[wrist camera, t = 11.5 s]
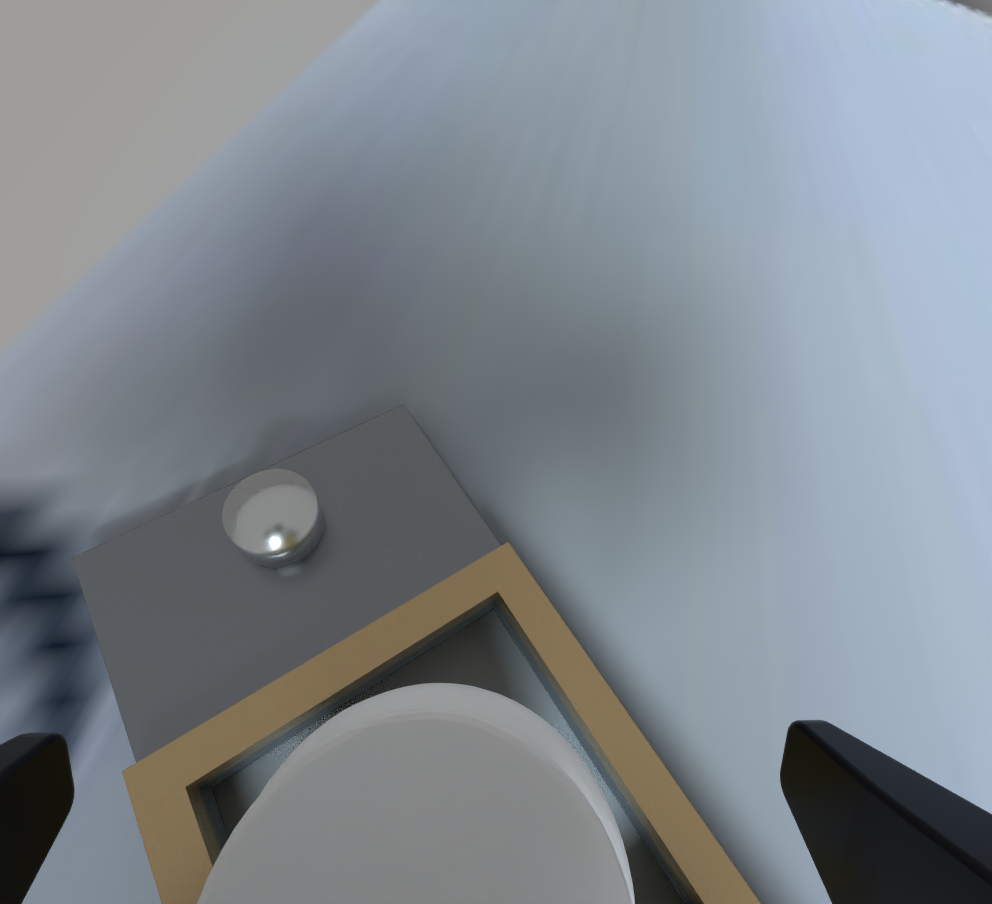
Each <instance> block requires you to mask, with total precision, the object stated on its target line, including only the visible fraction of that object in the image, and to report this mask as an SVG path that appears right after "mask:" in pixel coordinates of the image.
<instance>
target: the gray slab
mask: <svg viewBox="0 0 992 904" xmlns="http://www.w3.org/2000/svg"><path fill="white" fill-rule="evenodd" d="M72 559H73V563H74V566H75V569H76V572H77V575H78V579H79V582H80V585H81V588H82V591H83V595H84V598H85V601H86V604H87V607H88V611H89V614H90V617H91V620H92V623H93V627H94V630H95V633H96V636H97V639H98V642H99V646H100V649H101V652H102V655H103V658H104V662H105V665H106V668H107V671H108V674H109V678H110V681H111V684H112V687H113V690H114V694H115V697H116V700H117V703H118V706H119V710H120V713H121V716H122V719H123V722H124V726H125V729H126V732H127V735H128V738H129V742H130V745H131V748H132V751H133V754H134V757H135V761H136V764H134V765H132V766H130V767H129V768H127V769H125V770H124V771H122V773H123V776H124V779H125V783H126V786H127V789H128V792H129V796H130V799H131V802H132V806H133V809H134V812H135V816H136V819H137V822H138V826H139V829H140V832H141V836H142V839H143V842H144V846H145V849H146V852H147V856H148V859H149V862H150V866H151V869H152V872H153V876H154V879H155V882H156V886H157V889H158V892H159V895H160V899H161V902H162V904H197V902H198V900H199V897H200V895H201V892H202V890H203V887H204V885H205V883H206V880H207V878H208V876H209V874H210V872H211V870H212V868H213V866H214V864H215V862H216V860H217V858H218V856H219V854H220V852H221V850H222V849H223V847H224V845H225V843H226V842H227V840H228V838H229V835H228V832H227V830H226V827H225V824H224V821H223V819H222V816H221V813H220V810H219V807H218V805H217V802H216V799H215V796H214V794H213V791H212V788H213V787H214V786H216V785H217V784H219V783H221V782H222V781H224V780H225V779H227V778H228V777H230V776H232V775H233V774H235V773H236V772H238V771H239V770H241V769H243V768H244V767H246V766H247V765H249V764H250V763H252V762H254V761H255V760H257V759H258V758H260V757H261V756H263V755H265V754H266V753H268V752H269V751H271V750H272V749H274V748H276V747H277V746H279V745H280V744H282V743H283V742H285V741H287V740H288V739H290V738H291V737H293V736H294V735H296V734H298V733H299V732H301V731H302V730H304V729H305V728H307V727H309V726H310V725H312V724H313V723H315V722H316V721H318V720H320V719H321V718H323V717H324V716H326V715H327V714H329V713H331V712H332V711H334V710H335V709H337V708H338V707H340V706H342V705H343V704H345V703H346V702H348V701H349V700H351V699H353V698H354V697H356V696H357V695H359V694H360V693H362V692H364V691H365V690H367V689H368V688H370V687H371V686H373V685H375V684H376V683H378V682H379V681H381V680H382V679H384V678H386V677H387V676H389V675H390V674H392V673H393V672H395V671H397V670H398V669H400V668H401V667H403V666H404V665H406V664H408V663H409V662H411V661H412V660H414V659H415V658H417V657H419V656H420V655H422V654H423V653H425V652H426V651H428V650H430V649H431V648H433V647H434V646H436V645H437V644H439V643H441V642H442V641H444V640H445V639H447V638H448V637H450V636H452V635H453V634H455V633H456V632H458V631H459V630H461V629H463V628H464V627H466V626H467V625H469V624H470V623H472V622H474V621H475V620H477V619H478V618H480V617H481V616H483V615H485V614H486V613H488V612H489V611H491V610H492V609H494V610H495V612H496V613H497V615H498V616H499V618H500V619H501V621H502V622H503V624H504V626H505V627H506V629H507V630H508V632H509V633H510V635H511V636H512V638H513V639H514V641H515V643H516V644H517V646H518V647H519V649H520V650H521V652H522V653H523V655H524V656H525V658H526V660H527V661H528V663H529V664H530V666H531V667H532V669H533V670H534V672H535V673H536V675H537V677H538V678H539V680H540V681H541V683H542V684H543V686H544V687H545V689H546V690H547V692H548V694H549V695H550V697H551V698H552V700H553V701H554V703H555V704H556V706H557V707H558V709H559V711H560V712H561V714H562V715H563V717H564V718H565V720H566V721H567V723H568V724H569V726H570V727H571V729H572V731H573V732H574V734H575V735H576V737H577V738H578V740H579V741H580V743H581V744H582V746H583V748H584V749H585V751H586V752H587V754H588V755H589V757H590V758H591V760H592V761H593V763H594V765H595V766H596V768H597V769H598V771H599V772H600V774H601V775H602V777H603V778H604V780H605V782H606V783H607V785H608V786H609V788H610V789H611V791H612V792H613V794H614V795H615V797H616V799H617V800H618V802H619V803H620V805H621V806H622V808H623V809H624V811H625V812H626V814H627V816H628V817H629V819H630V820H631V822H632V823H633V825H634V826H635V828H636V829H637V831H638V833H639V834H640V836H641V837H642V839H643V840H644V842H645V843H646V845H647V846H648V848H649V850H650V851H651V853H652V854H653V856H654V857H655V859H656V860H657V862H658V863H659V865H660V867H661V868H662V870H663V871H664V873H665V874H666V876H667V877H668V879H669V880H670V882H671V884H672V885H673V887H674V888H675V890H676V891H677V893H678V894H679V896H680V897H681V899H682V900H683V902H684V904H761V903H760V902H759V900H758V899H757V897H756V896H755V895H754V893H753V892H752V890H751V889H750V887H749V886H748V885H747V883H746V882H745V880H744V879H743V877H742V876H741V874H740V873H739V872H738V870H737V869H736V867H735V866H734V864H733V863H732V862H731V860H730V859H729V857H728V856H727V854H726V853H725V852H724V850H723V849H722V847H721V846H720V844H719V843H718V842H717V840H716V839H715V837H714V836H713V834H712V833H711V832H710V830H709V829H708V827H707V826H706V824H705V823H704V821H703V820H702V819H701V817H700V816H699V814H698V813H697V811H696V810H695V809H694V807H693V806H692V804H691V803H690V801H689V800H688V799H687V797H686V796H685V794H684V793H683V791H682V790H681V789H680V787H679V786H678V784H677V783H676V781H675V780H674V778H673V777H672V776H671V774H670V773H669V771H668V770H667V768H666V767H665V766H664V764H663V763H662V761H661V760H660V758H659V757H658V756H657V754H656V753H655V751H654V750H653V748H652V747H651V746H650V744H649V743H648V741H647V740H646V738H645V737H644V736H643V734H642V733H641V731H640V730H639V728H638V727H637V725H636V724H635V723H634V721H633V720H632V718H631V717H630V715H629V714H628V713H627V711H626V710H625V708H624V707H623V705H622V704H621V703H620V701H619V700H618V698H617V697H616V695H615V694H614V693H613V691H612V690H611V688H610V687H609V685H608V684H607V683H606V681H605V680H604V678H603V677H602V675H601V674H600V672H599V671H598V670H597V668H596V667H595V665H594V664H593V662H592V661H591V660H590V658H589V657H588V655H587V654H586V652H585V651H584V650H583V648H582V647H581V645H580V644H579V642H578V641H577V640H576V638H575V637H574V635H573V634H572V632H571V631H570V629H569V628H568V627H567V625H566V624H565V622H564V621H563V619H562V618H561V617H560V615H559V614H558V612H557V611H556V609H555V608H554V607H553V605H552V604H551V602H550V601H549V599H548V598H547V597H546V595H545V594H544V592H543V591H542V589H541V588H540V587H539V585H538V584H537V582H536V581H535V579H534V578H533V576H532V575H531V574H530V572H529V571H528V569H527V568H526V566H525V565H524V564H523V562H522V561H521V559H520V558H519V556H518V555H517V554H516V552H515V551H514V549H513V548H512V546H511V545H510V544H509V542H507V543H505V544H504V545H502V546H501V545H500V543H499V542H498V541H497V539H496V538H495V536H494V535H493V533H492V532H491V530H490V529H489V528H488V526H487V525H486V523H485V522H484V520H483V519H482V517H481V516H480V514H479V513H478V512H477V510H476V509H475V507H474V506H473V504H472V503H471V501H470V500H469V499H468V497H467V496H466V494H465V493H464V491H463V490H462V488H461V487H460V485H459V484H458V483H457V481H456V480H455V478H454V477H453V475H452V474H451V472H450V471H449V470H448V468H447V467H446V465H445V464H444V462H443V461H442V459H441V458H440V456H439V455H438V454H437V452H436V451H435V449H434V448H433V446H432V445H431V443H430V442H429V440H428V439H427V438H426V436H425V435H424V433H423V432H422V430H421V429H420V427H419V426H418V425H417V423H416V422H415V420H414V419H413V417H412V416H411V414H410V413H409V411H408V410H407V409H406V407H405V406H404V404H403V405H401V406H399V407H397V408H395V409H393V410H390V411H388V412H386V413H384V414H382V415H380V416H378V417H375V418H373V419H371V420H369V421H367V422H365V423H362V424H360V425H358V426H356V427H354V428H352V429H349V430H347V431H345V432H343V433H341V434H339V435H337V436H334V437H332V438H330V439H328V440H326V441H324V442H321V443H319V444H317V445H315V446H313V447H311V448H308V449H306V450H304V451H302V452H300V453H298V454H296V455H293V456H291V457H289V458H287V459H285V460H283V461H280V462H278V463H276V464H274V465H272V466H270V467H267V468H265V469H263V470H261V471H259V472H257V473H255V474H252V475H250V476H248V477H246V478H244V479H242V480H239V481H237V482H235V483H233V484H231V485H229V486H226V487H224V488H222V489H220V490H218V491H216V492H214V493H211V494H209V495H207V496H205V497H203V498H201V499H198V500H196V501H194V502H192V503H190V504H188V505H185V506H183V507H181V508H179V509H177V510H175V511H173V512H170V513H168V514H166V515H164V516H162V517H160V518H157V519H155V520H153V521H151V522H149V523H147V524H144V525H142V526H140V527H138V528H136V529H134V530H132V531H129V532H127V533H125V534H123V535H121V536H119V537H116V538H114V539H112V540H110V541H108V542H106V543H103V544H101V545H99V546H97V547H95V548H93V549H91V550H88V551H86V552H84V553H82V554H80V555H78V556H75V557H73V558H72Z"/></svg>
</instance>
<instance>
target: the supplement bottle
mask: <svg viewBox="0 0 992 904" xmlns="http://www.w3.org/2000/svg"><path fill="white" fill-rule="evenodd" d="M197 904H635V899H634V890H633V882H632V878H631V873H630V868H629V863H628V858H627V855H626V851H625V847H624V843H623V840H622V837H621V835H620V832H619V829H618V826H617V823H616V820H615V818H614V815H613V813H612V811H611V809H610V806H609V804H608V802H607V800H606V798H605V796H604V793H603V791H602V789H601V787H600V786H599V784H598V782H597V781H596V779H595V777H594V776H593V774H592V773H591V771H590V769H589V768H588V766H587V765H586V764H585V763H584V761H583V760H582V759H581V757H580V756H579V755H578V753H577V752H576V751H575V750H574V748H573V747H572V746H571V745H570V744H569V743H568V742H567V741H566V740H565V739H564V738H563V736H562V735H561V734H560V733H559V732H558V731H557V730H555V729H554V728H553V727H552V726H551V725H549V724H548V723H547V722H546V721H545V720H544V719H542V718H541V717H540V716H538V715H537V714H535V713H534V712H533V711H531V710H530V709H528V708H526V707H525V706H523V705H521V704H519V703H517V702H516V701H514V700H512V699H509V698H507V697H505V696H503V695H501V694H498V693H495V692H492V691H488V690H485V689H482V688H478V687H474V686H469V685H463V684H454V683H424V684H417V685H412V686H406V687H401V688H398V689H394V690H390V691H386V692H384V693H381V694H378V695H376V696H373V697H371V698H368V699H366V700H363V701H361V702H359V703H357V704H354V705H352V706H350V707H349V708H347V709H345V710H343V711H341V712H340V713H338V714H337V715H335V716H334V717H332V718H331V719H329V720H328V721H327V722H326V723H324V724H323V725H322V726H320V727H319V728H318V729H316V730H315V731H314V732H313V733H312V734H311V735H309V736H308V737H307V738H306V739H305V740H304V741H303V742H302V743H301V744H300V745H299V746H298V747H297V748H296V749H295V750H294V751H293V752H292V753H291V754H290V755H289V756H288V758H287V759H286V760H285V761H284V762H283V763H282V765H281V766H280V767H279V768H278V769H277V771H276V772H275V773H274V775H273V776H272V777H271V778H270V780H269V781H268V782H267V784H266V785H265V787H264V789H263V790H262V792H261V794H260V795H259V797H258V798H257V799H256V800H255V802H254V803H253V804H252V805H251V806H250V808H249V809H248V810H247V812H246V813H245V814H244V816H243V817H242V819H241V820H240V821H239V823H238V824H237V826H236V827H235V828H234V830H233V832H232V833H231V835H230V837H229V838H228V840H227V842H226V843H225V845H224V847H223V849H222V850H221V852H220V854H219V856H218V858H217V860H216V862H215V864H214V866H213V868H212V870H211V872H210V874H209V876H208V878H207V880H206V883H205V885H204V887H203V890H202V892H201V895H200V897H199V900H198V902H197Z"/></svg>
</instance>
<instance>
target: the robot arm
mask: <svg viewBox="0 0 992 904" xmlns="http://www.w3.org/2000/svg"><path fill="white" fill-rule="evenodd" d="M780 781H781V787H782V790H783V793H784V796H785V798H786V801H787V803H788V805H789V807H790V810H791V812H792V814H793V816H794V819H795V821H796V823H797V825H798V828H799V830H800V832H801V834H802V837H803V839H804V841H805V843H806V846H807V848H808V850H809V852H810V855H811V857H812V859H813V861H814V864H815V866H816V868H817V870H818V873H819V875H820V877H821V879H822V882H823V884H824V886H825V888H826V891H827V893H828V895H829V897H830V900H831V902H832V904H992V814H990V813H989V812H987V811H985V810H983V809H981V808H980V807H978V806H976V805H974V804H973V803H971V802H969V801H967V800H965V799H964V798H962V797H960V796H958V795H957V794H955V793H953V792H951V791H949V790H948V789H946V788H944V787H942V786H941V785H939V784H937V783H935V782H933V781H932V780H930V779H928V778H926V777H925V776H923V775H921V774H919V773H917V772H916V771H914V770H912V769H910V768H909V767H907V766H905V765H903V764H901V763H900V762H898V761H896V760H894V759H893V758H891V757H889V756H887V755H886V754H884V753H882V752H880V751H878V750H877V749H875V748H873V747H871V746H870V745H868V744H866V743H864V742H862V741H861V740H859V739H857V738H855V737H854V736H852V735H850V734H848V733H846V732H845V731H843V730H841V729H839V728H838V727H836V726H834V725H832V724H830V723H828V722H826V721H823V720H797V721H795V722H792V723H791V725H790V726H789V728H788V732H787V737H786V743H785V748H784V754H783V759H782V765H781V770H780ZM73 799H74V783H73V777H72V771H71V765H70V759H69V753H68V747H67V742H66V740H65V738H64V737H63V736H62V735H61V734H58V733H27V734H22V735H19V736H17V737H15V738H13V739H11V740H9V741H7V742H5V743H3V744H1V745H0V904H22V902H23V900H24V898H25V896H26V894H27V892H28V890H29V888H30V887H31V885H32V883H33V881H34V879H35V877H36V875H37V873H38V871H39V869H40V868H41V866H42V864H43V862H44V860H45V858H46V856H47V854H48V852H49V850H50V849H51V847H52V845H53V843H54V841H55V839H56V837H57V835H58V833H59V831H60V830H61V828H62V826H63V824H64V822H65V820H66V818H67V816H68V814H69V812H70V809H71V806H72V803H73Z"/></svg>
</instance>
